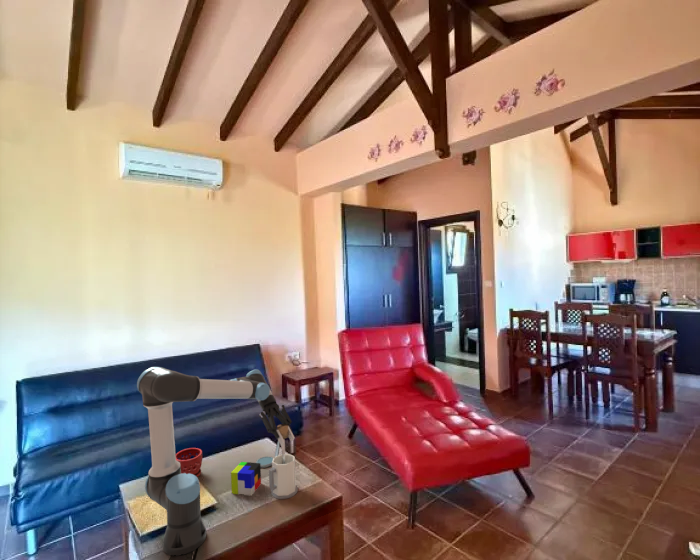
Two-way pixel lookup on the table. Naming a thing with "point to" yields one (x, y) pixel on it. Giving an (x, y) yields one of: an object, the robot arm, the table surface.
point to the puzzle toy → (246, 478)
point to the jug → (283, 477)
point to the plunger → (284, 433)
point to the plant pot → (190, 461)
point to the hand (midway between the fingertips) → (288, 441)
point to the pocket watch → (268, 458)
